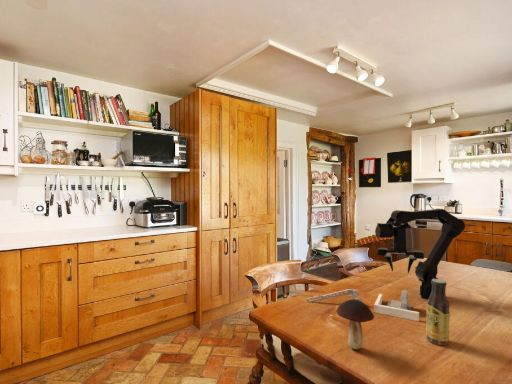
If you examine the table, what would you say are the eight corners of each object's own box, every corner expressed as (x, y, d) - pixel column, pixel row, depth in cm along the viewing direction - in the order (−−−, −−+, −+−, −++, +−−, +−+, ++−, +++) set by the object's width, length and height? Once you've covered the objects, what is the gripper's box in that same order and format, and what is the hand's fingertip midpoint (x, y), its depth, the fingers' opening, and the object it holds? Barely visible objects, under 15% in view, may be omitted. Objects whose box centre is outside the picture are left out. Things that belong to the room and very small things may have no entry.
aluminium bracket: (406, 313, 112) (406, 296, 112) (389, 309, 115) (389, 293, 115) (407, 306, 118) (407, 290, 118) (391, 303, 121) (391, 288, 122)
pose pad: (411, 306, 119) (411, 305, 119) (410, 316, 109) (410, 315, 109) (388, 302, 124) (388, 301, 124) (384, 311, 114) (384, 310, 114)
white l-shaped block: (419, 307, 118) (419, 300, 118) (418, 321, 105) (418, 313, 105) (379, 300, 126) (379, 293, 126) (374, 312, 113) (374, 304, 113)
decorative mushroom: (381, 350, 86) (381, 301, 86) (359, 363, 79) (359, 310, 79) (350, 335, 95) (350, 291, 95) (328, 346, 88) (328, 298, 88)
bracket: (362, 301, 119) (351, 280, 120) (316, 320, 122) (306, 299, 123) (361, 299, 122) (350, 277, 123) (316, 317, 125) (306, 297, 126)
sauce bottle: (421, 336, 94) (421, 277, 94) (439, 336, 94) (439, 276, 95) (435, 347, 87) (435, 283, 87) (454, 346, 88) (454, 283, 88)
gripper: (422, 236, 132) (423, 269, 132) (379, 234, 141) (379, 265, 141) (423, 240, 123) (424, 276, 123) (377, 237, 131) (377, 271, 131)
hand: (400, 271), depth 130 cm, fingers open, 6 cm apart
